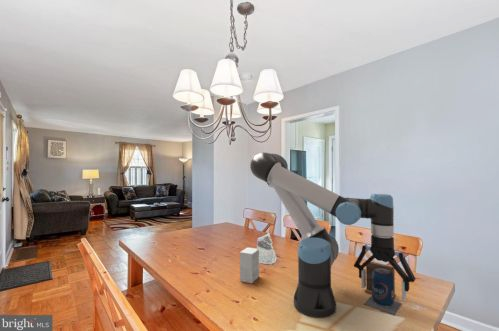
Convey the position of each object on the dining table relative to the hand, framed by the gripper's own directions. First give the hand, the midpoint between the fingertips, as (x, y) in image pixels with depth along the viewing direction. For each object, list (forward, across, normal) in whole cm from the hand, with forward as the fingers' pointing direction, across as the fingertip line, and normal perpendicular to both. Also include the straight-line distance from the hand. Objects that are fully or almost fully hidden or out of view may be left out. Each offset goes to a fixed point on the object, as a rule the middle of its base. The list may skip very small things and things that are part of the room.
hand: (382, 293), depth 91 cm
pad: (+4, 0, 0) cm, 4 cm away
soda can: (+4, 0, 0) cm, 4 cm away
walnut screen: (+4, +3, -8) cm, 9 cm away
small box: (+4, +51, +18) cm, 54 cm away
